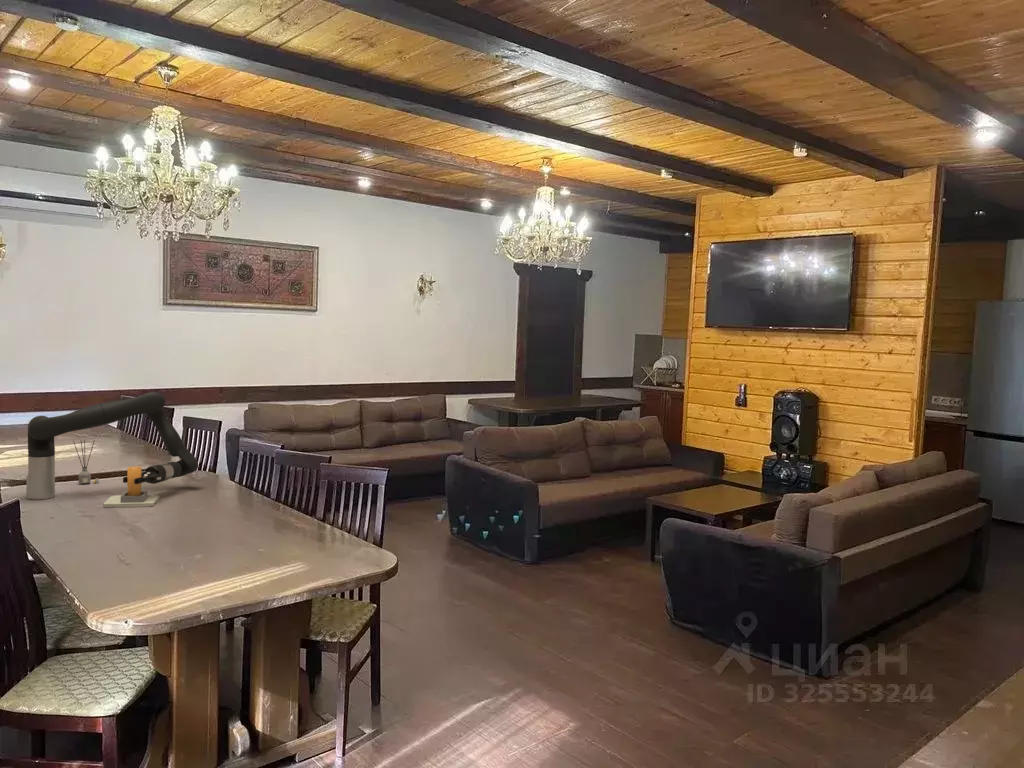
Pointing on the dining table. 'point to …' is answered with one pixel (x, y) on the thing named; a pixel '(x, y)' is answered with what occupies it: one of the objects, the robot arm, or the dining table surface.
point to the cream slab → (132, 500)
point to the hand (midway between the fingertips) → (129, 480)
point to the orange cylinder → (131, 475)
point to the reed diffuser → (85, 469)
